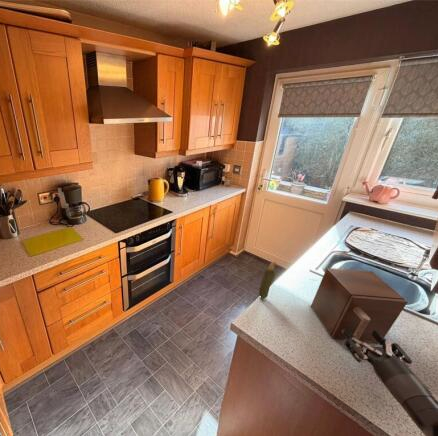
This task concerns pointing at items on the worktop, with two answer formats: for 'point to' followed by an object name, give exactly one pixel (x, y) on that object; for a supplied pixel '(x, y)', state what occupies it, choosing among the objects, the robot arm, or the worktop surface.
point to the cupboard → (346, 293)
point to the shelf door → (368, 317)
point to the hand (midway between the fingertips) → (359, 330)
